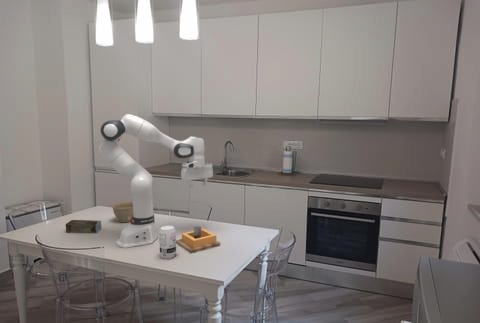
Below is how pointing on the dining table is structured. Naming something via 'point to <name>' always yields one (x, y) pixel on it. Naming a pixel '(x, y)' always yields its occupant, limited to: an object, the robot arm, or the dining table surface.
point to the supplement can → (167, 242)
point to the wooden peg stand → (196, 235)
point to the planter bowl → (123, 211)
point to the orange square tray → (204, 240)
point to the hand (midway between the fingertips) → (197, 186)
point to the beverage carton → (83, 226)
